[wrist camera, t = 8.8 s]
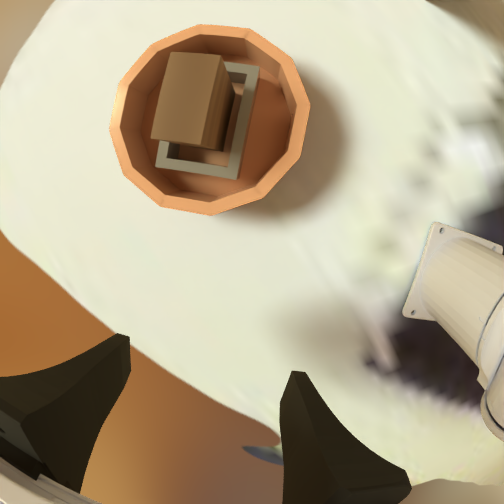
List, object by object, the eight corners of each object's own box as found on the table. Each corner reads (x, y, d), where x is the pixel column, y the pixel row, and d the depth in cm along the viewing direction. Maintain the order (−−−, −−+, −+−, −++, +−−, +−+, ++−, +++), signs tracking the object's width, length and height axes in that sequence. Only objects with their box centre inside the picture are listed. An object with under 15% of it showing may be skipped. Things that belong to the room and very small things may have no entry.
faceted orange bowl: (311, 64, 16) (322, 43, 13) (279, 217, 20) (284, 230, 16) (156, 46, 16) (136, 25, 12) (127, 189, 19) (100, 196, 16)
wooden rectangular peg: (235, 93, 17) (220, 55, 10) (222, 152, 18) (200, 144, 11) (202, 88, 17) (171, 51, 10) (189, 146, 18) (150, 138, 11)
